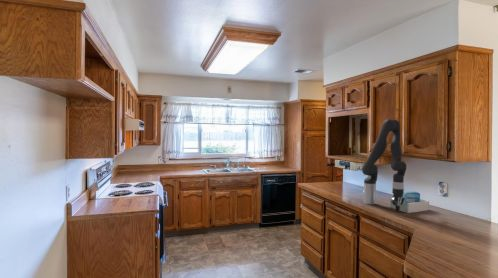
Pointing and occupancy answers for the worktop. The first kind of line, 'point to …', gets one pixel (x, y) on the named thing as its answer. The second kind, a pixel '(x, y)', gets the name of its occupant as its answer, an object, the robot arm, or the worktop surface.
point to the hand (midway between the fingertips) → (397, 210)
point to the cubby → (418, 206)
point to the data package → (411, 197)
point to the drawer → (401, 207)
